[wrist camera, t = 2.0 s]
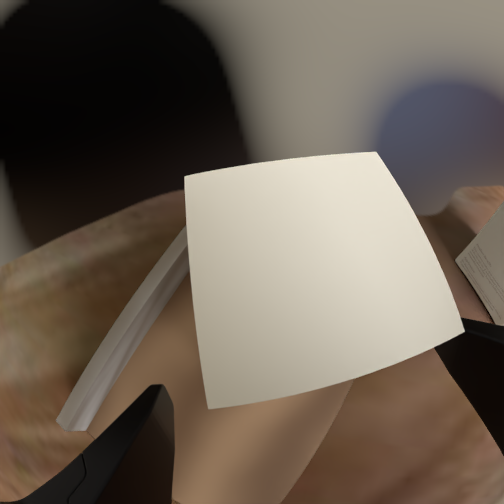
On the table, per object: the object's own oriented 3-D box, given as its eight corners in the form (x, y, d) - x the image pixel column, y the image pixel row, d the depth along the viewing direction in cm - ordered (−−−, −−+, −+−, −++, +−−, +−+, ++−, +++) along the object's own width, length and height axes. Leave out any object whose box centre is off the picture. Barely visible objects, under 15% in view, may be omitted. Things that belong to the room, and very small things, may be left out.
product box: (337, 379, 15) (464, 331, 4) (247, 399, 15) (208, 409, 4) (314, 293, 18) (371, 145, 7) (231, 310, 17) (184, 168, 7)
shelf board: (377, 312, 18) (397, 294, 15) (252, 530, 11) (249, 554, 7) (208, 232, 22) (199, 203, 19) (83, 419, 15) (54, 418, 11)
